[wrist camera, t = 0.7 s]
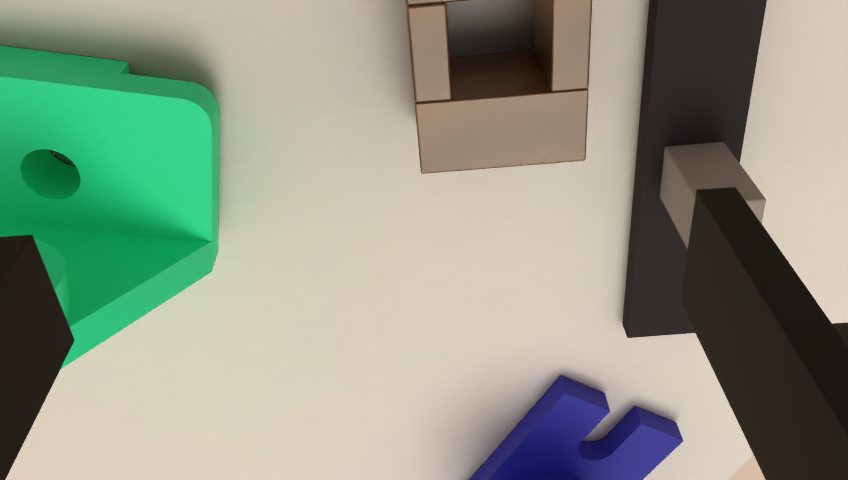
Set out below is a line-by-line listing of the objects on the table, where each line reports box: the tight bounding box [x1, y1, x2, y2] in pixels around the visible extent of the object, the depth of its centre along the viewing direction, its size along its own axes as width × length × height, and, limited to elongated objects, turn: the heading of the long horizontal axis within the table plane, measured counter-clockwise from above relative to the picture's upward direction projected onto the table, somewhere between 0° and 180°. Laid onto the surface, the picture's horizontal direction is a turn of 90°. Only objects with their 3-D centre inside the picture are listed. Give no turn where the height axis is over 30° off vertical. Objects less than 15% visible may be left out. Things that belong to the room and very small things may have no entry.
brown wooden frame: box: [406, 0, 592, 174], centre depth 28 cm, size 9×6×4 cm, turn 4°
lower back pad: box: [623, 0, 767, 338], centre depth 31 cm, size 18×4×6 cm, turn 4°
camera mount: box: [0, 46, 220, 368], centre depth 28 cm, size 12×8×10 cm, turn 81°
